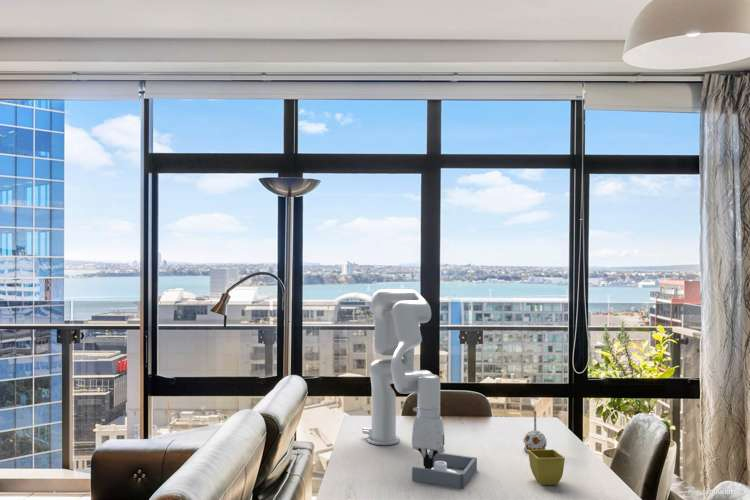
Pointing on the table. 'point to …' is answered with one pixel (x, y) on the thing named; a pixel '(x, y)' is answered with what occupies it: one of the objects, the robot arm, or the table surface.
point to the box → (447, 477)
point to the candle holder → (442, 466)
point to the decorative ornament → (534, 439)
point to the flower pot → (546, 466)
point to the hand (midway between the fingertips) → (428, 468)
